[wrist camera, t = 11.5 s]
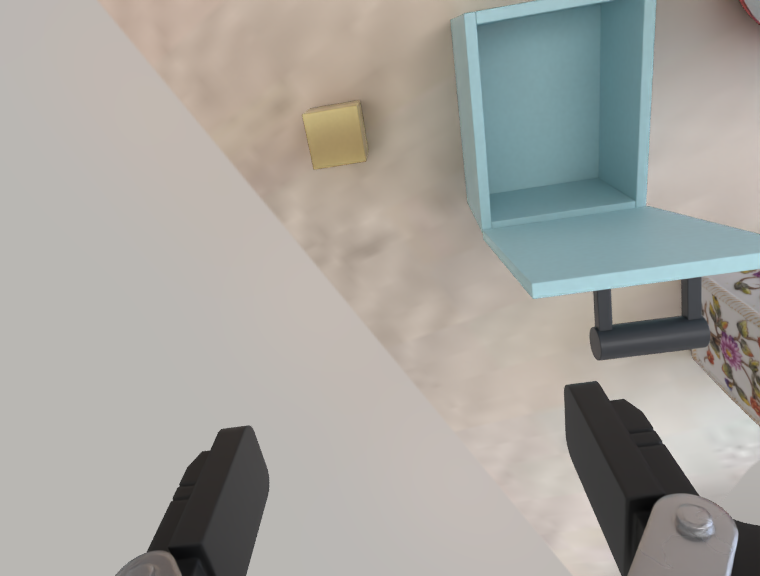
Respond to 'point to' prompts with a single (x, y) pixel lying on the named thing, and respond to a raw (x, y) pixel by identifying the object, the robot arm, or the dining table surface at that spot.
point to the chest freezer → (554, 108)
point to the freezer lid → (627, 269)
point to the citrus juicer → (752, 8)
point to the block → (336, 134)
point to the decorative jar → (733, 337)
